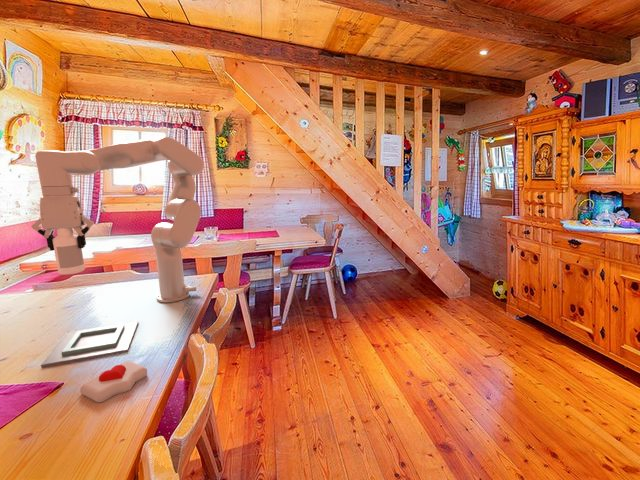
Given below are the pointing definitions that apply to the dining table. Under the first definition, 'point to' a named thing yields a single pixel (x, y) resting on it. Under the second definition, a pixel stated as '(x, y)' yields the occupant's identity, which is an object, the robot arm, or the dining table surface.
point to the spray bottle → (68, 252)
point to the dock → (92, 343)
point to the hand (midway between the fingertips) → (68, 248)
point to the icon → (113, 381)
